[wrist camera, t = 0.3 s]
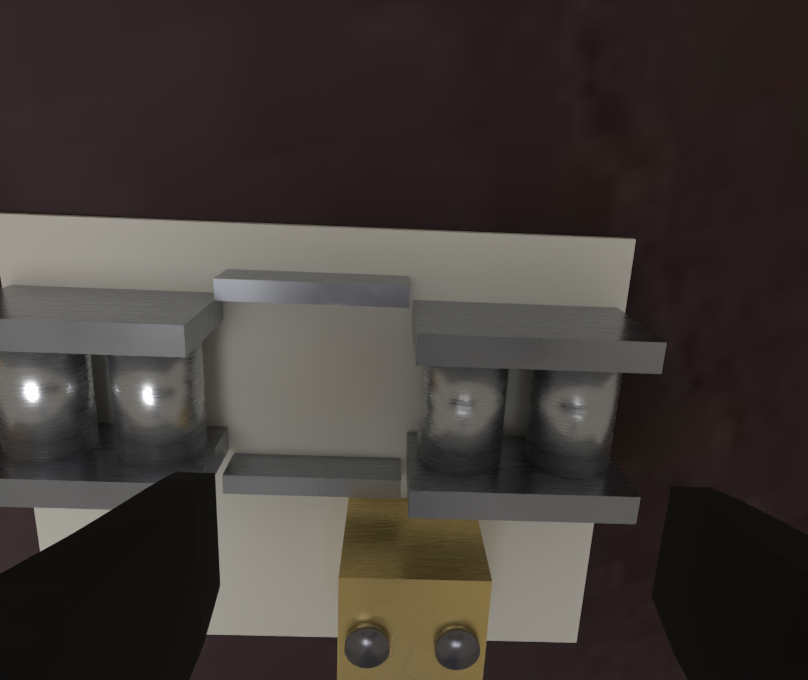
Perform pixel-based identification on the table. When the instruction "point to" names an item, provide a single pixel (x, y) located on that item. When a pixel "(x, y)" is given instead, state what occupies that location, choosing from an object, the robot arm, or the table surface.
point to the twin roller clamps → (305, 474)
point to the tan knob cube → (411, 595)
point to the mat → (329, 389)
